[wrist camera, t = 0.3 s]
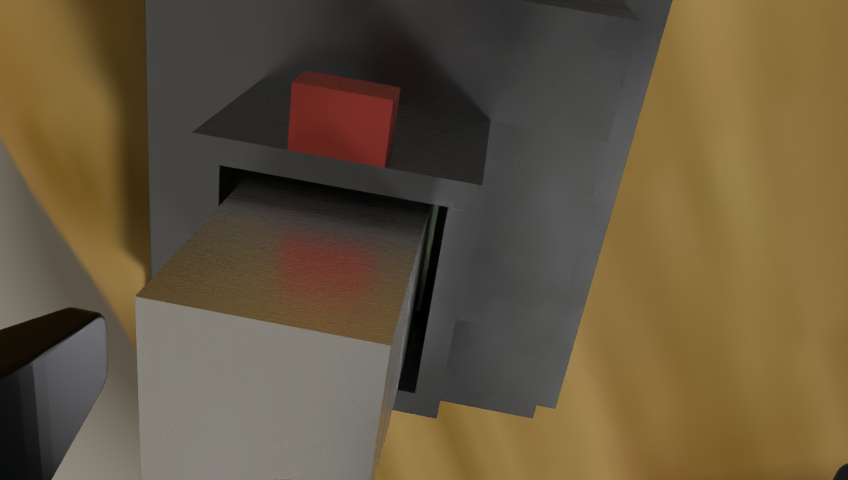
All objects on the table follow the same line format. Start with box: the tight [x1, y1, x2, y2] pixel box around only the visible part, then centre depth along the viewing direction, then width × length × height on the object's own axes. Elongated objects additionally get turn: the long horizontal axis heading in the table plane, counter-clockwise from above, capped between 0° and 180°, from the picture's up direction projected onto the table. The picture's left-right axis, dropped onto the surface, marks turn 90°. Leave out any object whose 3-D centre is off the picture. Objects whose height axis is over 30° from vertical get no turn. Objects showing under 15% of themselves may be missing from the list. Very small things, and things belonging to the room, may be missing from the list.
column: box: [135, 171, 439, 480], centre depth 17 cm, size 4×4×11 cm
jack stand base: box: [145, 0, 672, 418], centre depth 19 cm, size 14×14×7 cm
